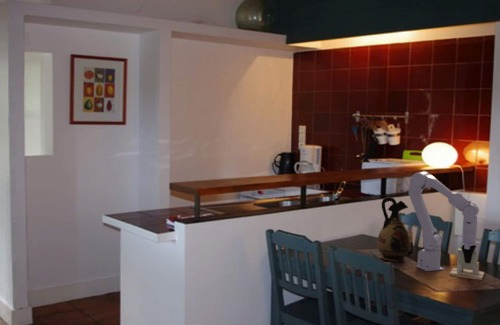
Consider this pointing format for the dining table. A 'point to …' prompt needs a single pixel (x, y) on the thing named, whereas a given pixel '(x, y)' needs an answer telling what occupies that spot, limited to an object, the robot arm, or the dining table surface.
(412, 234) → the ammunition clip
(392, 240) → the ceramic jug
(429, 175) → the robot arm
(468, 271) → the hinge bracket
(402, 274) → the dining table surface
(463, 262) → the door
